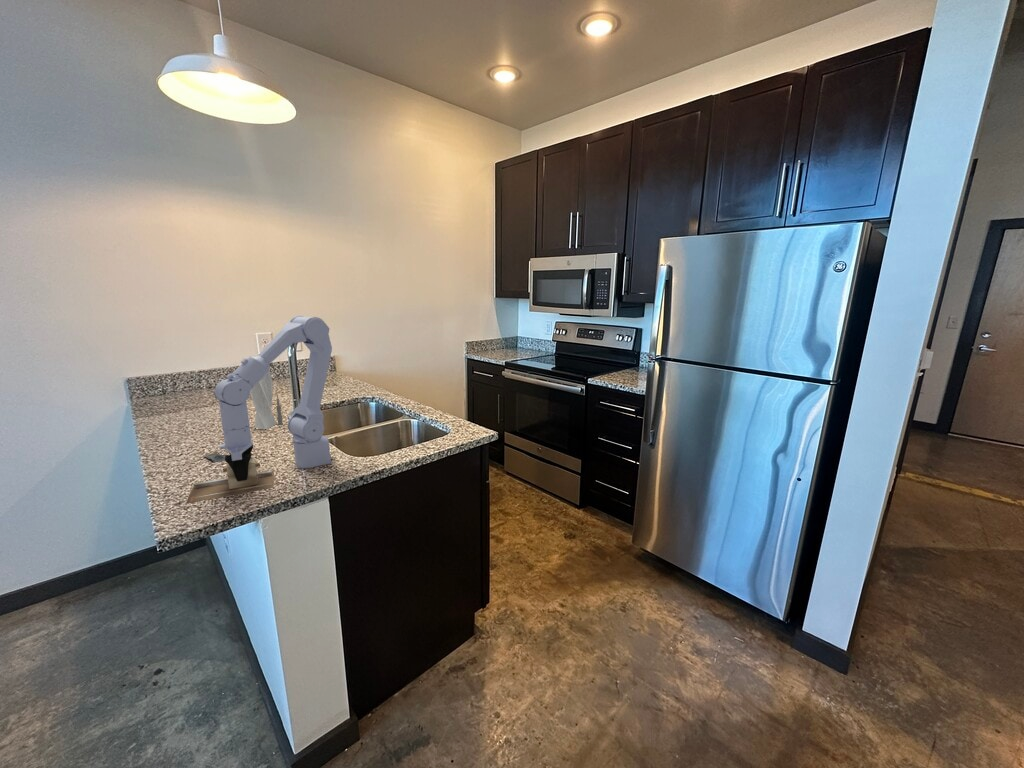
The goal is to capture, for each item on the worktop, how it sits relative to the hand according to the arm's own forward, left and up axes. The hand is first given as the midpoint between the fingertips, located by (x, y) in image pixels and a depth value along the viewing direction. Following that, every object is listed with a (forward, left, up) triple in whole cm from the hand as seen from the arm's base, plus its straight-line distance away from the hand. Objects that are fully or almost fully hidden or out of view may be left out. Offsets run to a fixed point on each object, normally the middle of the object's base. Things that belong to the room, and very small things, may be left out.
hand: (243, 476), depth 106 cm
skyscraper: (-4, -55, -4) cm, 55 cm away
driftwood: (+6, -23, -4) cm, 24 cm away
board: (+2, 0, -3) cm, 4 cm away
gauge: (0, 0, -2) cm, 2 cm away
